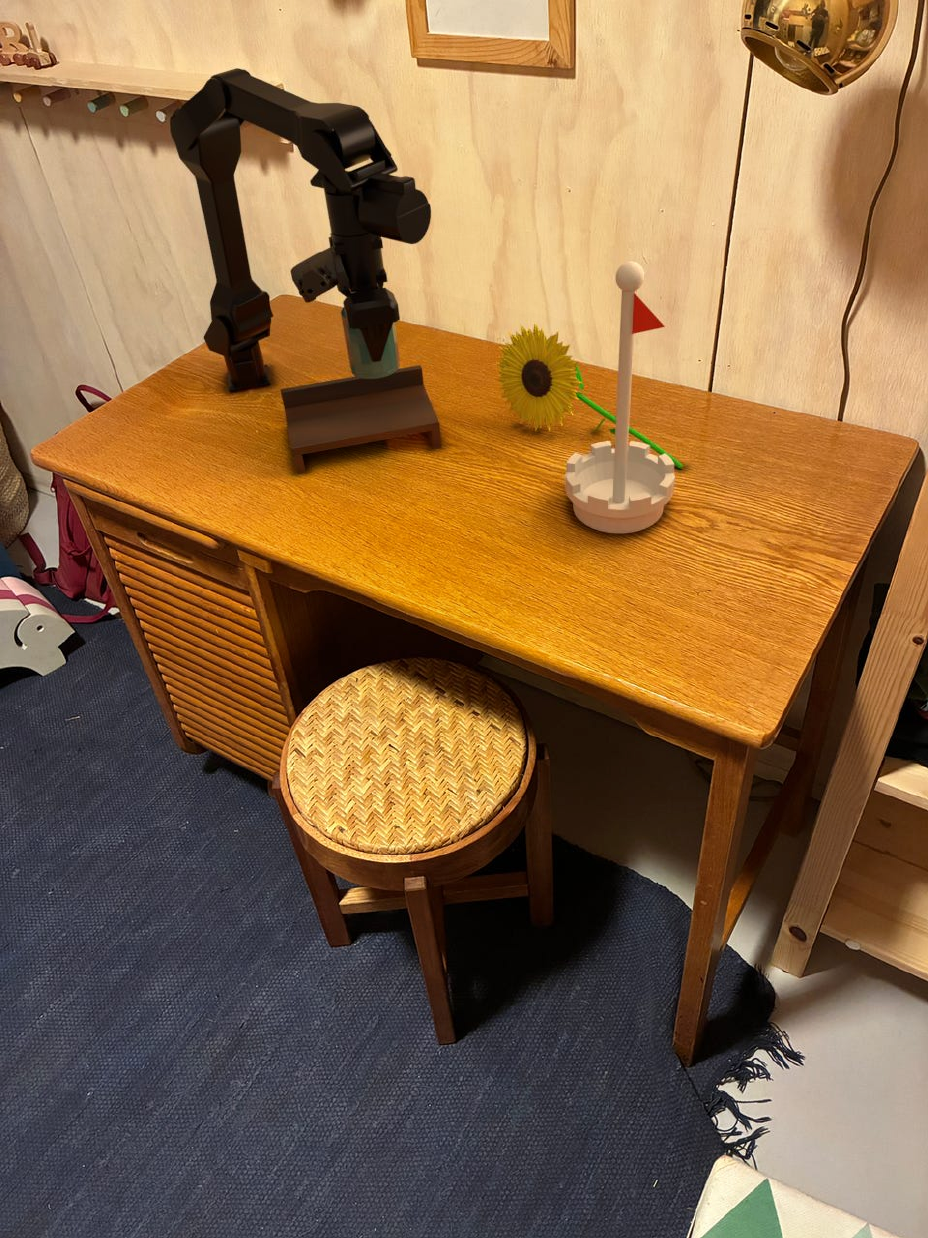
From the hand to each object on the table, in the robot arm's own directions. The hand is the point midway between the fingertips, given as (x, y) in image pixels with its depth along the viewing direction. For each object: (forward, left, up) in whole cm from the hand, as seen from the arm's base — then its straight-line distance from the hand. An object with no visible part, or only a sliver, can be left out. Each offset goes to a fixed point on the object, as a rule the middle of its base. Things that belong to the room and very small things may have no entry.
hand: (372, 349), depth 120 cm
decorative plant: (+10, +26, -13) cm, 31 cm away
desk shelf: (0, -3, -13) cm, 13 cm away
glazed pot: (0, 0, -2) cm, 2 cm away
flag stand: (+26, +25, -13) cm, 39 cm away
